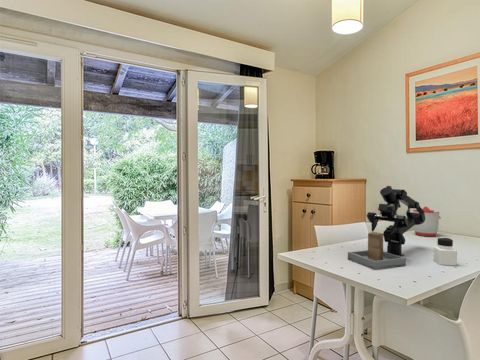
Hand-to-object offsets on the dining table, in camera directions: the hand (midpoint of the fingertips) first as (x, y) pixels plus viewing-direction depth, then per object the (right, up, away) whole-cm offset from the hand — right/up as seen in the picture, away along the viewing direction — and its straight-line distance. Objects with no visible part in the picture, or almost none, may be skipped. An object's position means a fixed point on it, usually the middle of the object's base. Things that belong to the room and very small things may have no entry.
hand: (381, 232), depth 151 cm
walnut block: (-5, -13, -4) cm, 14 cm away
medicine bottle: (+28, -14, -5) cm, 31 cm away
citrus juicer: (+60, -13, +61) cm, 86 cm away
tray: (-5, -14, -4) cm, 15 cm away
